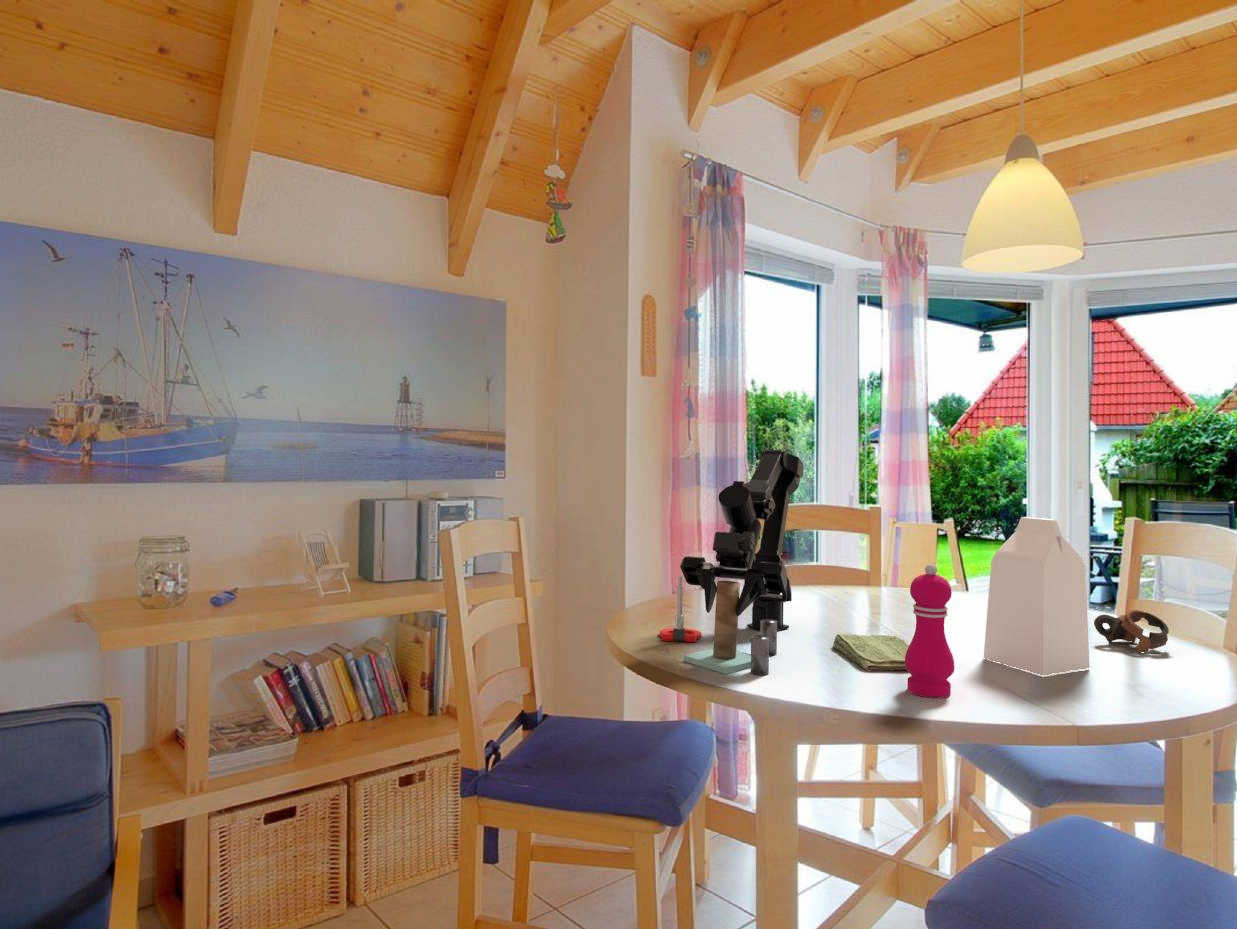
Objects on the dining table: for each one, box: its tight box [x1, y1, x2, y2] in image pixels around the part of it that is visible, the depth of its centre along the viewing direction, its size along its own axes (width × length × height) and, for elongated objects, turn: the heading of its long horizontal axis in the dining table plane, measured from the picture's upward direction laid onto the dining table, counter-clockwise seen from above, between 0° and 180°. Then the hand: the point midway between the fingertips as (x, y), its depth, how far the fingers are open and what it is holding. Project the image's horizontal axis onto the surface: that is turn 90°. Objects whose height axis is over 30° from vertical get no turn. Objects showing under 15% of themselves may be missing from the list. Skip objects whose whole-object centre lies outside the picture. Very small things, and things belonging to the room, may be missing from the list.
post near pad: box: [750, 634, 770, 676], centre depth 128 cm, size 3×3×6 cm
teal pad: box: [683, 648, 751, 675], centre depth 134 cm, size 10×10×1 cm
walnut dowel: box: [712, 580, 741, 659], centre depth 134 cm, size 4×4×13 cm
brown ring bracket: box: [1093, 609, 1169, 653], centre depth 148 cm, size 12×10×8 cm
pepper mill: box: [905, 563, 955, 698], centre depth 119 cm, size 7×7×20 cm
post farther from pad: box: [759, 619, 778, 657], centre depth 141 cm, size 3×3×6 cm
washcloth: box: [832, 633, 910, 671], centre depth 138 cm, size 13×18×3 cm
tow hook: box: [659, 575, 703, 643], centre depth 153 cm, size 8×13×9 cm
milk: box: [983, 516, 1090, 675], centre depth 135 cm, size 12×12×26 cm
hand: (722, 612), depth 133 cm, fingers open, 5 cm apart
